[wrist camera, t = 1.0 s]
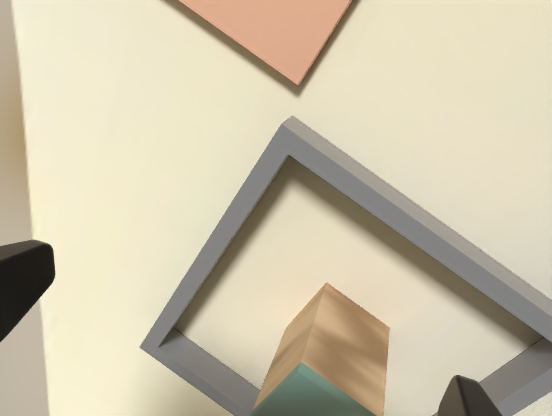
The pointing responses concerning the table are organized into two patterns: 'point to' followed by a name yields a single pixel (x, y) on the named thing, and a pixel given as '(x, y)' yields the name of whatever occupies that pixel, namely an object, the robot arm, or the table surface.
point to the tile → (276, 28)
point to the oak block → (328, 362)
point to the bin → (396, 214)
